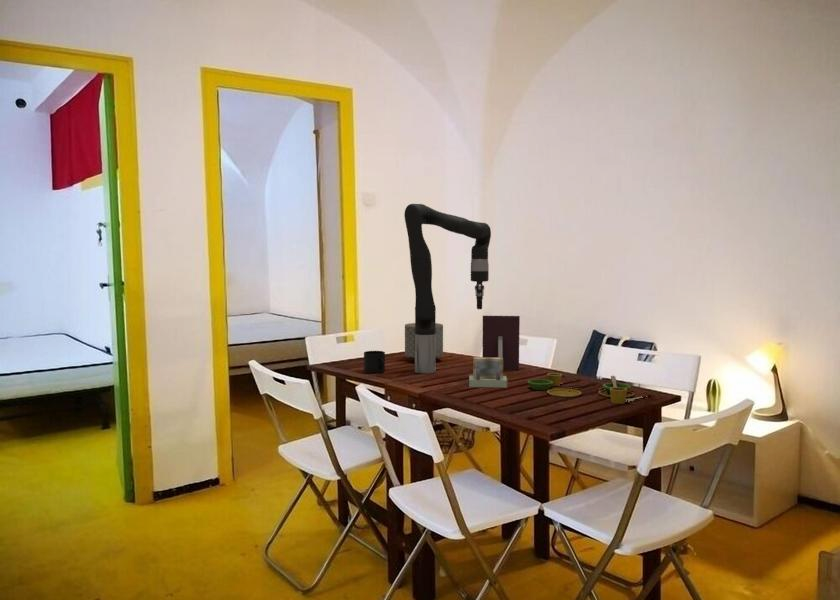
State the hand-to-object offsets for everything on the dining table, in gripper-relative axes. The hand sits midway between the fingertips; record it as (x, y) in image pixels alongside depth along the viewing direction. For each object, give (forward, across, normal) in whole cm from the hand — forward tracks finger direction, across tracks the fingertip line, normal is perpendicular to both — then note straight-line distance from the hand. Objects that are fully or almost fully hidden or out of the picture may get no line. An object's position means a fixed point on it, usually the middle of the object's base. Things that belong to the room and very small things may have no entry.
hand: (479, 308), depth 269 cm
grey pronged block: (+30, -13, -4) cm, 33 cm away
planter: (+30, +44, +27) cm, 60 cm away
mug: (+30, +11, +46) cm, 56 cm away
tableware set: (+31, -25, -40) cm, 56 cm away
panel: (+27, -13, -4) cm, 30 cm away
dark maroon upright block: (+30, +18, -10) cm, 37 cm away
